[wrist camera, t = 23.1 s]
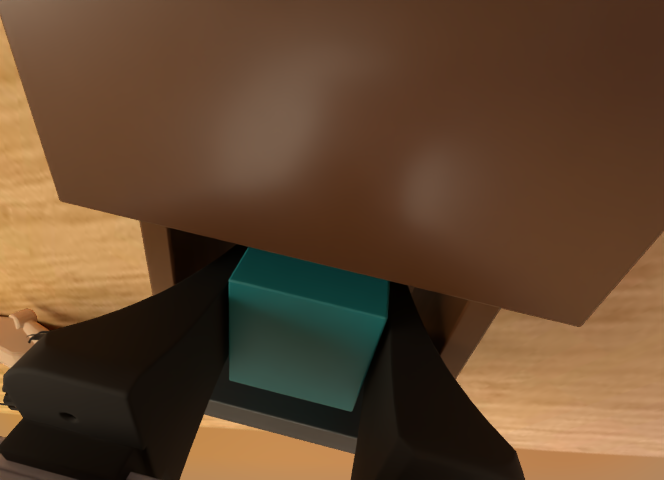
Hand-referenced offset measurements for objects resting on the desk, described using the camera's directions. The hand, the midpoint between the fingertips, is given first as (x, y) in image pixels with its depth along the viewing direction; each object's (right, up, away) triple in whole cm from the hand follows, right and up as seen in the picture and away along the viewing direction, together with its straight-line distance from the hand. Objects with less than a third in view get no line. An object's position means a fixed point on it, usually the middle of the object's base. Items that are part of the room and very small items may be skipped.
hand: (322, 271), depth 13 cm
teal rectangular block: (0, +1, +1) cm, 1 cm away
